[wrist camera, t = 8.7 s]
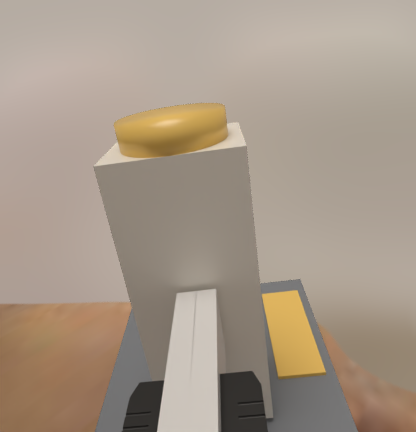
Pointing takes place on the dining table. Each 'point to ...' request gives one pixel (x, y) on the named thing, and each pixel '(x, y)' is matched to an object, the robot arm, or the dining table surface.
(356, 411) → the dining table surface
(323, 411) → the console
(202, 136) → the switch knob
